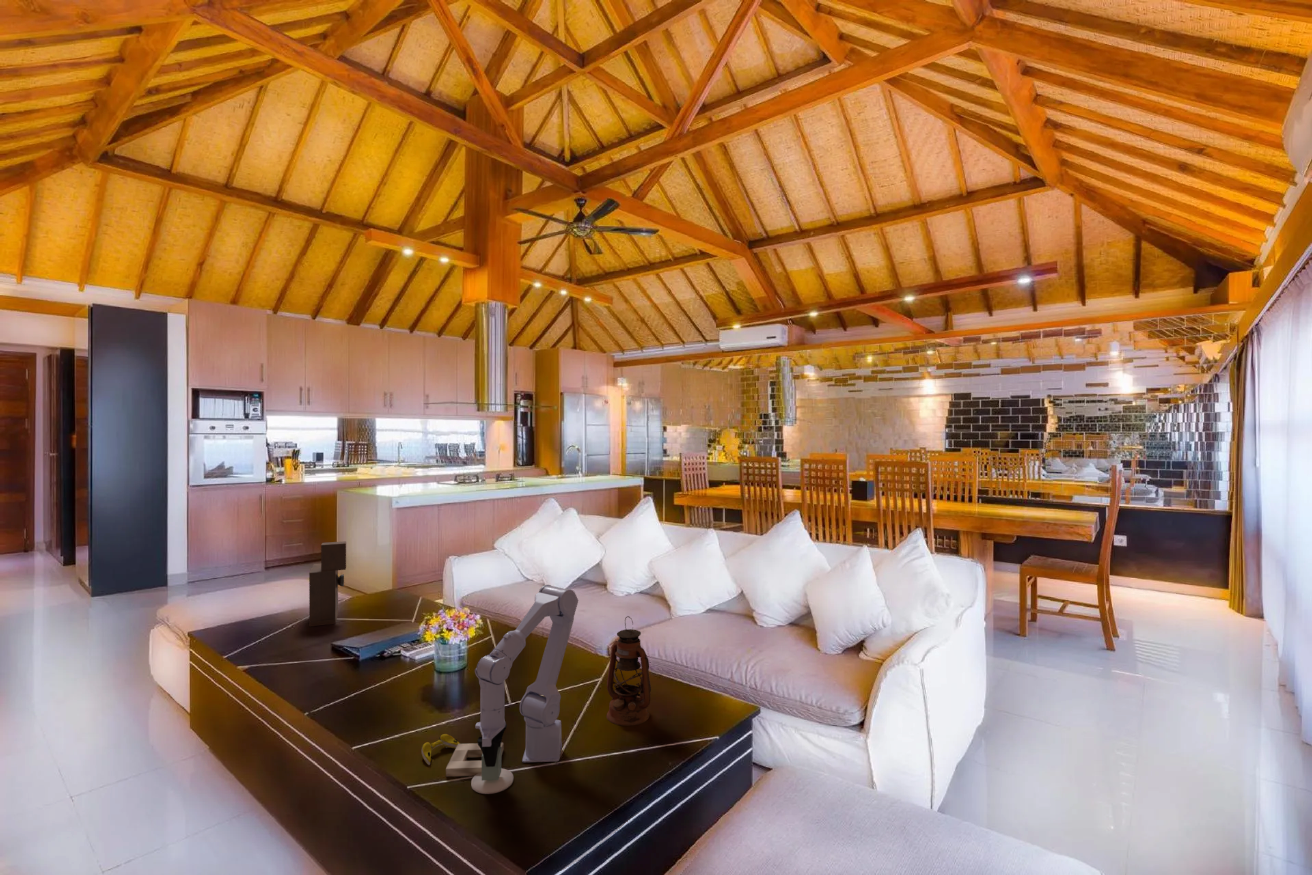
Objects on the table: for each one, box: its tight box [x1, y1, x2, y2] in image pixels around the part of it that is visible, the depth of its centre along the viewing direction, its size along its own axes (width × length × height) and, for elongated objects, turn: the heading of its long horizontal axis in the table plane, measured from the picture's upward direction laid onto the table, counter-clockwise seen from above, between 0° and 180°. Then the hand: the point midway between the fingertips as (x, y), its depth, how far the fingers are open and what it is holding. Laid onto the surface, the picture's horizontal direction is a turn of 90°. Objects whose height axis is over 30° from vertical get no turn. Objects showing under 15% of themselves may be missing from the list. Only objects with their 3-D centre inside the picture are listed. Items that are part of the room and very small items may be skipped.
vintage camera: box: [308, 541, 347, 627], centre depth 279 cm, size 19×14×35 cm
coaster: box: [470, 767, 514, 795], centre depth 151 cm, size 10×10×1 cm
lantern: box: [606, 615, 652, 727], centre depth 186 cm, size 17×13×30 cm
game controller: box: [420, 733, 461, 766], centre depth 164 cm, size 10×6×4 cm, turn 145°
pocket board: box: [445, 742, 504, 777], centre depth 160 cm, size 12×12×2 cm
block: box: [481, 747, 502, 780], centre depth 151 cm, size 4×4×6 cm
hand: (492, 760), depth 151 cm, fingers closed on block, 4 cm apart
